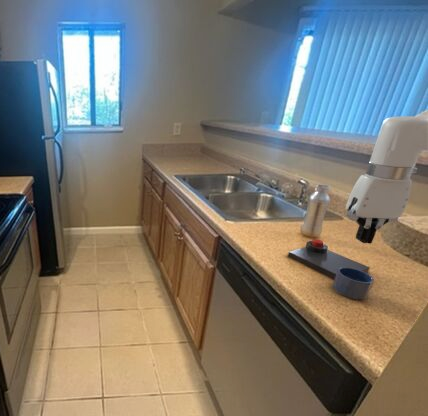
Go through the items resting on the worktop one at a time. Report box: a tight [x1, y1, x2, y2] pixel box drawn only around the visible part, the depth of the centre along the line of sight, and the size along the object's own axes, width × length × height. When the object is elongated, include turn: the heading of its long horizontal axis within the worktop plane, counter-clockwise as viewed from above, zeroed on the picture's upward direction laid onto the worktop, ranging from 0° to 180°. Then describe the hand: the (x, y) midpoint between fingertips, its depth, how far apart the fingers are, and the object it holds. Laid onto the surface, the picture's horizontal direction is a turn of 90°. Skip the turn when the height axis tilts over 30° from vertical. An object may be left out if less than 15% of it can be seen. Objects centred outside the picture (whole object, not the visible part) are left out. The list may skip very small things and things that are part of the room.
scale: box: [287, 240, 370, 280], centre depth 87 cm, size 16×13×4 cm
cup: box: [332, 267, 374, 300], centre depth 74 cm, size 7×7×6 cm
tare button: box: [312, 238, 324, 247], centre depth 92 cm, size 3×3×2 cm
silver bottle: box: [300, 184, 331, 238], centre depth 103 cm, size 6×7×20 cm
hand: (363, 240), depth 71 cm, fingers closed
